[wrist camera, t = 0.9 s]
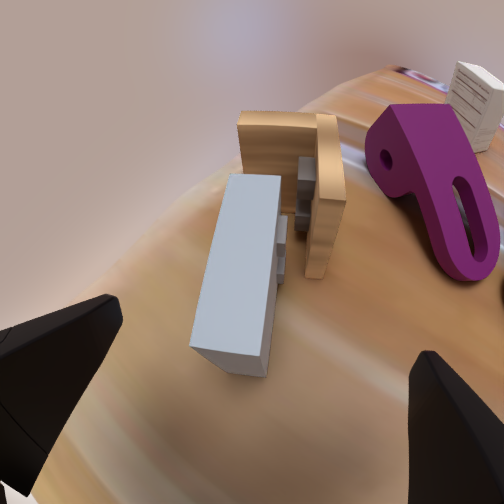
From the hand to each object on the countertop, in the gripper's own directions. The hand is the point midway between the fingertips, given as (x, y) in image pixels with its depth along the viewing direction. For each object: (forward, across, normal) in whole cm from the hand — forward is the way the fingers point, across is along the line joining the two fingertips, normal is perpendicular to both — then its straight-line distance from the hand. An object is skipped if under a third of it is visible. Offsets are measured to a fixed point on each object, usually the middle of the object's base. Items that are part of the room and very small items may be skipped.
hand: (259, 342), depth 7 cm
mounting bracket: (+24, -14, +1) cm, 28 cm away
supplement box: (+39, -25, -9) cm, 47 cm away
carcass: (+19, +1, +4) cm, 19 cm away
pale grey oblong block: (+12, +2, +9) cm, 15 cm away
